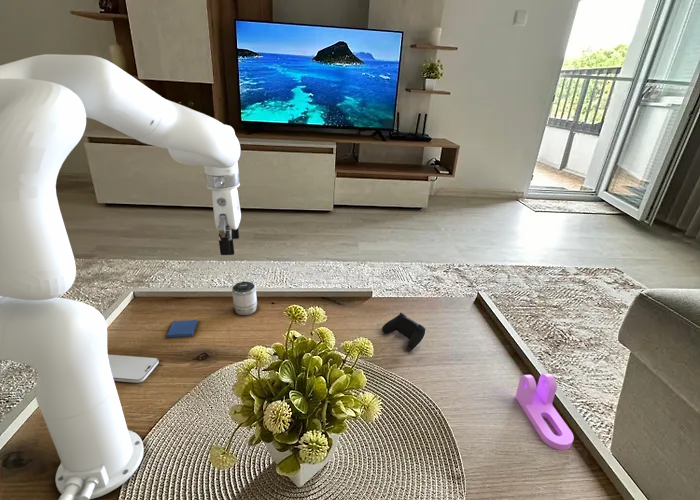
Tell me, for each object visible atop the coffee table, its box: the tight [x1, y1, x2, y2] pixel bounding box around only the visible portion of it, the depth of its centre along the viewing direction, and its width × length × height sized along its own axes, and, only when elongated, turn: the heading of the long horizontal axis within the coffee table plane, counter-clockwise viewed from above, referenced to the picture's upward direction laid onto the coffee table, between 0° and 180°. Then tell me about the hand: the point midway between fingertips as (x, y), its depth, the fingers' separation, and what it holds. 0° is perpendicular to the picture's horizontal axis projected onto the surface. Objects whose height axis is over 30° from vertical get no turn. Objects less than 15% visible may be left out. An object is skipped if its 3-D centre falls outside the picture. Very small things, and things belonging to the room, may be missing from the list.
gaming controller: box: [381, 312, 427, 352], centre depth 100 cm, size 11×4×7 cm
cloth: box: [166, 319, 198, 338], centre depth 101 cm, size 6×6×1 cm
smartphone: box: [108, 353, 160, 384], centre depth 87 cm, size 7×1×15 cm
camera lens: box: [231, 281, 258, 316], centre depth 109 cm, size 6×6×8 cm
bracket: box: [515, 373, 575, 451], centre depth 76 cm, size 13×6×7 cm, turn 5°
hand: (230, 246), depth 100 cm, fingers open, 9 cm apart
